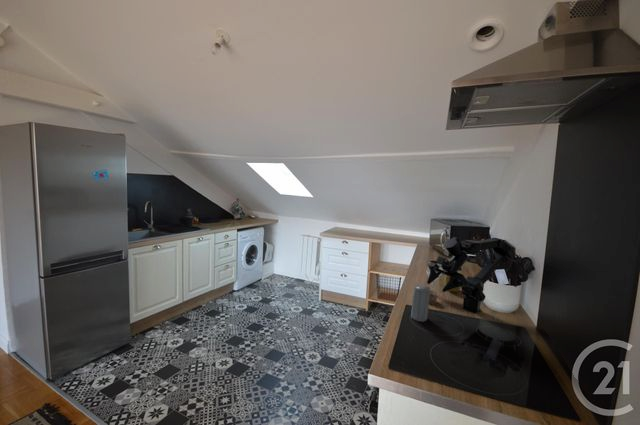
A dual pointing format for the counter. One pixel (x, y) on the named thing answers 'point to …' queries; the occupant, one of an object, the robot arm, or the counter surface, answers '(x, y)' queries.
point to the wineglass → (429, 273)
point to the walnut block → (432, 297)
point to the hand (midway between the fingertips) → (435, 287)
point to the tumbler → (420, 303)
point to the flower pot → (448, 281)
